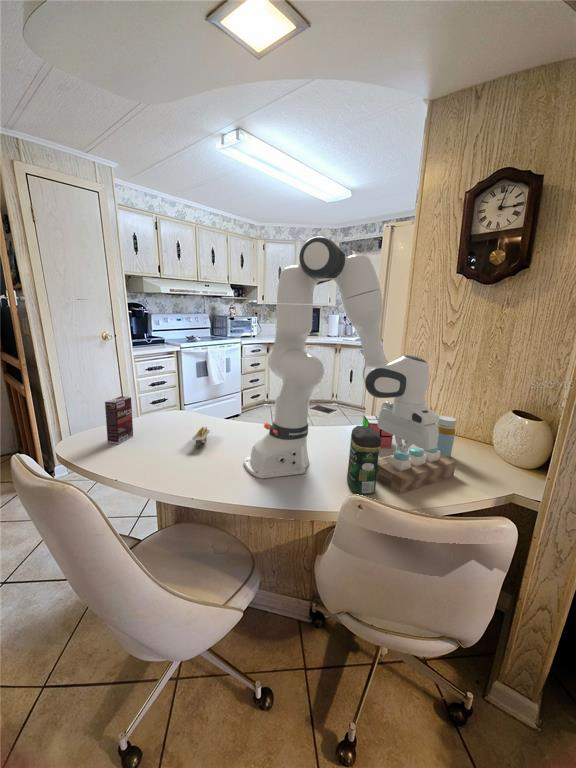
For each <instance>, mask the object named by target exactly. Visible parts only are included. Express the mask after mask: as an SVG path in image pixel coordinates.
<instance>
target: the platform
mask: <svg viewBox="0 0 576 768" xmlns="http://www.w3.org/2000/svg"><path fill="white" fill-rule="evenodd" d="M210 433H211V430H210V429H208V426H205V427H204V426H201V428H199V430H197V432H196V433H195V434H194V436H193V437H192V438H191V440H192V441H195V450H197V449H198V448H199V447H200V446H201V444H207V442H208V441H207V438H208V437H207V436H208V435H209V434H210Z"/></svg>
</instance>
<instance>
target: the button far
mask: <svg viewBox="0 0 576 768" xmlns="http://www.w3.org/2000/svg"><path fill="white" fill-rule="evenodd" d="M419 448H420V447H419ZM420 449H422V448H420ZM422 450H424V449H422ZM424 454H425V455H427V456H426V461H428V462H434V461H437V460H439V457H440V451H438V447H437V446H436V447H435V448H434V449H432V450H424Z"/></svg>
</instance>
